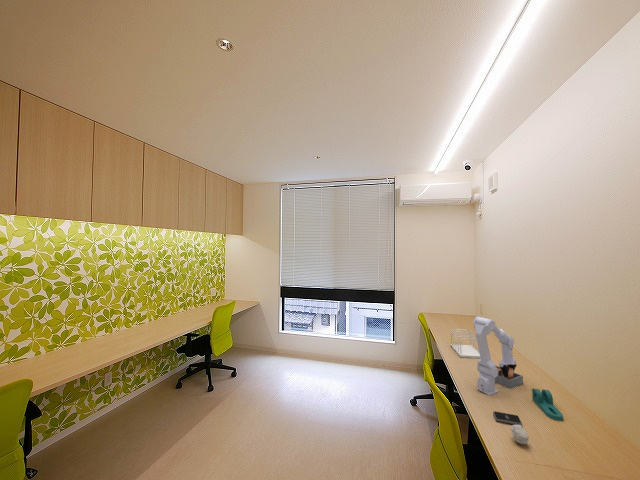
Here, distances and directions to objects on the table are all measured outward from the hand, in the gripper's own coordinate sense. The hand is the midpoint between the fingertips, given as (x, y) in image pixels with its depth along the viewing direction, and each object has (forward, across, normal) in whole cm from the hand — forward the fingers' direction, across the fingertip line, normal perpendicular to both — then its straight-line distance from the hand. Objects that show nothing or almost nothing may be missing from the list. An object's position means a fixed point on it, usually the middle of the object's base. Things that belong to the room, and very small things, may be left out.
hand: (508, 375), depth 170 cm
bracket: (+5, -11, -26) cm, 29 cm away
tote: (+4, 0, +4) cm, 6 cm away
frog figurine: (+5, -50, -34) cm, 61 cm away
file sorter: (+5, +22, +46) cm, 51 cm away
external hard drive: (+5, -39, -22) cm, 45 cm away
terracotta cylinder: (+2, 0, 0) cm, 2 cm away
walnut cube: (+4, 0, +8) cm, 9 cm away
